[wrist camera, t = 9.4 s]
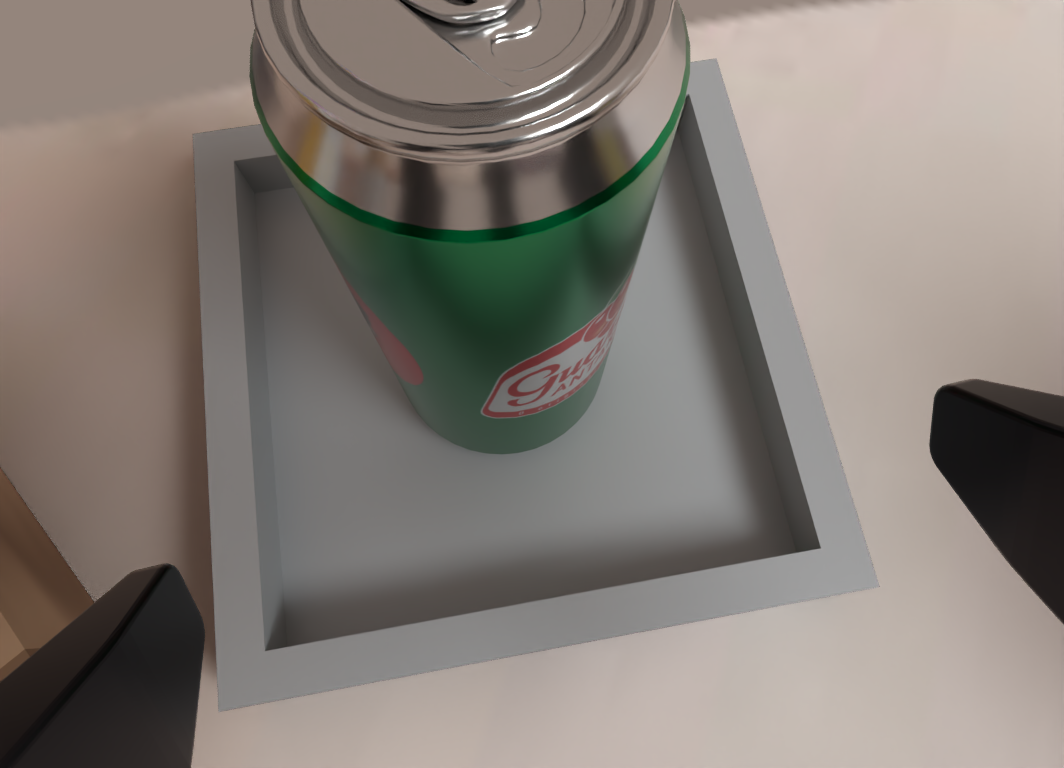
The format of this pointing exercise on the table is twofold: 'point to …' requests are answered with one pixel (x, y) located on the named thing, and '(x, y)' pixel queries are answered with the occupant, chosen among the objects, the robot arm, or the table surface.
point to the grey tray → (505, 479)
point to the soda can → (478, 185)
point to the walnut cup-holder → (31, 583)
